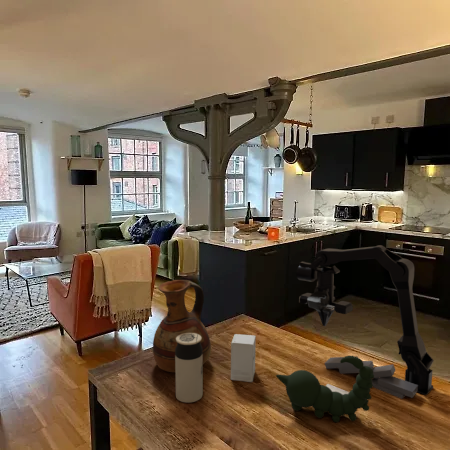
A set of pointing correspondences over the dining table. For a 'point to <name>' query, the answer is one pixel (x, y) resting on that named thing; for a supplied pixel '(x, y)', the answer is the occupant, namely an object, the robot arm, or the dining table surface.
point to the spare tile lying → (336, 389)
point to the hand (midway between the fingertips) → (324, 325)
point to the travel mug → (189, 367)
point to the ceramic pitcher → (179, 323)
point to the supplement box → (243, 357)
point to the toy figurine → (329, 392)
